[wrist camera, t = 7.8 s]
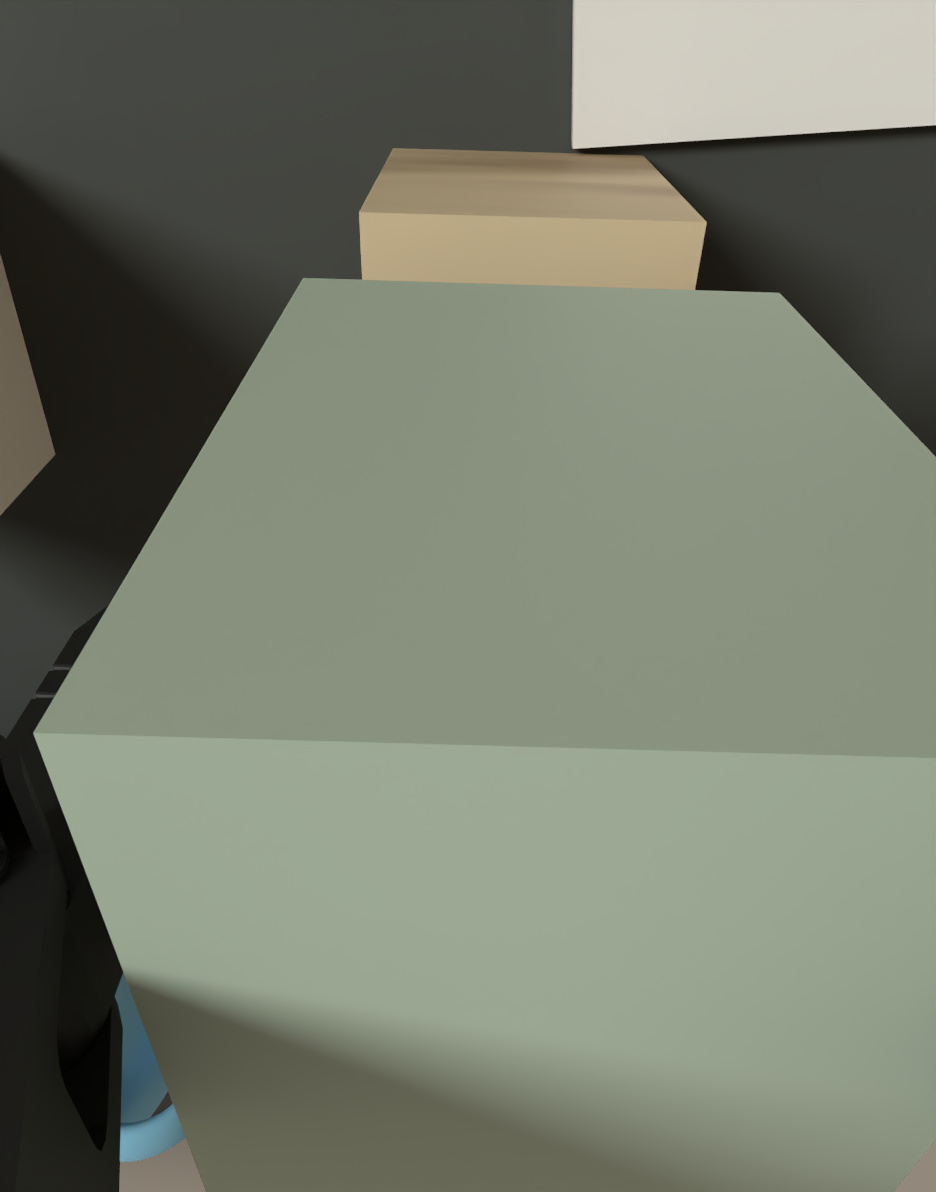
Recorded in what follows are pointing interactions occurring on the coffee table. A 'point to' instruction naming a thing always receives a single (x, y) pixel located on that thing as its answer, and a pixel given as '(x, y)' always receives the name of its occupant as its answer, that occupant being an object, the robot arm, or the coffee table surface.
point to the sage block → (528, 754)
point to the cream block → (18, 407)
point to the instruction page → (748, 68)
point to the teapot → (142, 1090)
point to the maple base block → (528, 221)
